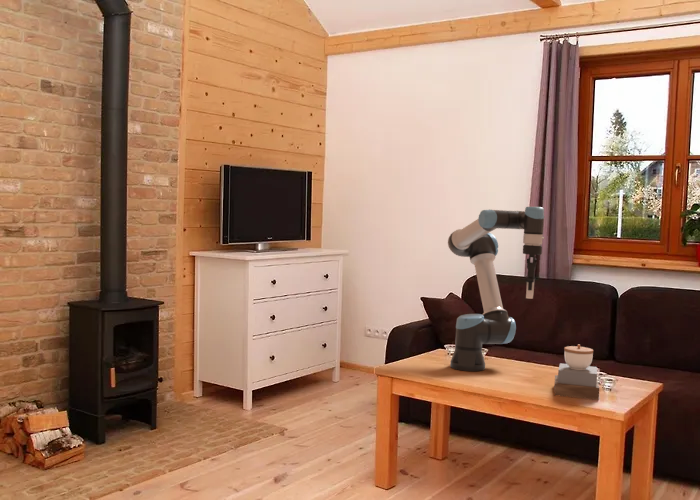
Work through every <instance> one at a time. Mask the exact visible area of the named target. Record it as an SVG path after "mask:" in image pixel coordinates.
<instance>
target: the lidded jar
mask: <svg viewBox="0 0 700 500" xmlns="http://www.w3.org/2000/svg"><path fill="white" fill-rule="evenodd" d="M563 349H564V354H563V355H564V361H565V364H567V365H568V366H569V367H570V369H574V370H586V368H588V367H589V366H591V364H592V362H593V357H594V356H593V355H594V349H593V348H590V347H587V346H586V347H585V346H581V344H577V346H575V345H571V346H569V345H567V346H564V348H563Z"/></svg>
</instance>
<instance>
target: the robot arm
mask: <svg viewBox="0 0 700 500" xmlns="http://www.w3.org/2000/svg"><path fill="white" fill-rule="evenodd" d="M524 208H525V209H524V211H522V210H502V209H499V210H498V209H483V210H481V211H480V213H479V215H478V218H477V219H475V220H474V221H472V222H471V223H469V224H468V225H466V226H465V227H463V228H458V229H456V230H454V231H452V232H451V233H450V235H449V237H448V239H447V247H448V249H449V251H450V252H452V253H453V254H454V255H456V256H458V257H462V258H465V257H467V258H469V260H470V263H471V264H472V265H474V268H475V269H474V270H475V273H476V274H475V275H476V277H477V278H476V279H477V284H478V289H479V295H480V301H481V303H482V308H483V313H482V314H481V313H467V314H466V313H465V314H461V315H459V316H458V317H457V318H456V322H455V323H456V324H455V341H454V342H455V346H454V347H455V348H454V351H453V353H452V357H451V359H450V362H449V365H450V368H452V369H454V370H458V371H463V372H465V371H466V372H482V371H484V370H485V369H486V361H485V359H484V355H483V354H484V353H483V345H495V344H496V345H503V344H508V343H509V344H510V343H512V341H513V340H514V337H515V335H516V330H517V325H516V321H515V319H514V318H513V317H511V316H509V314H508V311H507V310H506V309H504V306H503V302H502V298H501V293H500V287H499V283H498V278H497V274H496V269H495V264H494V261H495V260H496V256H497V255H498V254H499V253H498V252H499V249H498V248H499V243H498V240H497V238H496V236H495V235H494V234H493V233H491V232H492V231H494V230H496V229H502V230H503V229H507V230H510V229H511V230H523V237H522V238H523V239H522V241H523V242H522V243H523V244H524V245H522V255H523V254H524V255H528V258H526V268H527V276H526V279H525V281H524V282H525V283H526V290H525V291H526V293H525V299H530V300H531V299H534V294H535V293H534V291H535V290H534V289H535V280H536V279H537V277H536V276H535V271H536V268H537V263H538V262H537V261H538V260H537V258H536V256H540V255H542V253H543V246H542V245H543V240H544V239H545V237H544V236H543V234H544V221H545V215H544V213H545V209H544V208H543V206H542V207H541V206H525V207H524Z"/></svg>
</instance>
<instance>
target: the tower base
mask: <svg viewBox="0 0 700 500" xmlns="http://www.w3.org/2000/svg"><path fill="white" fill-rule="evenodd" d="M553 387H554V389H553V390H554V393H555V395H554V396H556V395H560V396H559V397H566V396H568V398H577V399H587V400H588V399H589V400H597V401H599V400H600V385H599V381H598V380H597V384H596V387H590V386H580V385H571V384H562V383H558V374H555V375H554V386H553Z"/></svg>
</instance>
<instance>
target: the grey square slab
mask: <svg viewBox="0 0 700 500" xmlns="http://www.w3.org/2000/svg"><path fill="white" fill-rule="evenodd" d="M557 373H558V374H557V375H558V383H562V384H571V385H580V386H590V387H596V384H597V381H598V367H597V366H591V365H590V366H589V367H588V368H586V370H574V369H570V367H569V366H568V365H567V363H561V362H560V363H559V366H558V372H557Z"/></svg>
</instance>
